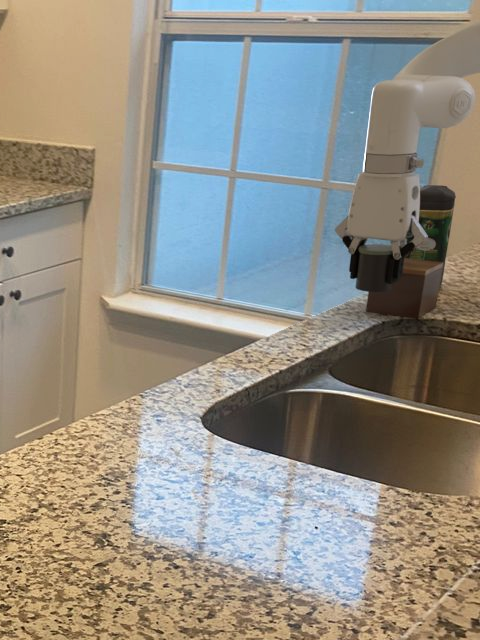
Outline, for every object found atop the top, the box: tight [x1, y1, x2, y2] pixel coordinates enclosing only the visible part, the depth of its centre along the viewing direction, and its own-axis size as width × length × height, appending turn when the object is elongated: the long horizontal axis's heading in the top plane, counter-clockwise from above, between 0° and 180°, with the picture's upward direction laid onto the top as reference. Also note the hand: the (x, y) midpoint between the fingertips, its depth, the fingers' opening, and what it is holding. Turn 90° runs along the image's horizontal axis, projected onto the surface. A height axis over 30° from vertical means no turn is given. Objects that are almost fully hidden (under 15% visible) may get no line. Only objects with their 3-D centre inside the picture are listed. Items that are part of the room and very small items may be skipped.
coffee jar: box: [405, 184, 457, 289], centre depth 191 cm, size 10×8×19 cm
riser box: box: [365, 258, 444, 319], centre depth 178 cm, size 9×9×8 cm
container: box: [354, 243, 393, 292], centre depth 168 cm, size 6×6×7 cm
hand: (374, 278), depth 169 cm, fingers closed on container, 5 cm apart
